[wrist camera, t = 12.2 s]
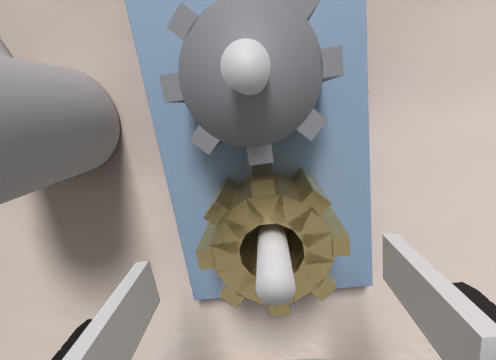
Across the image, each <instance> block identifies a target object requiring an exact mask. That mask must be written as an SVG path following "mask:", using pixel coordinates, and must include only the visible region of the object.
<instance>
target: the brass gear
mask: <svg viewBox="0 0 496 360" xmlns="http://www.w3.org/2000/svg"><path fill="white" fill-rule="evenodd" d="M331 204H332V203H331V201H330V200H329V198H328V197H327V196H326V194H325V193H324V191H323V190H322V188H321V187H320V185H319V184H318V183H317V181H316V180H315V178H314V177H312V176H311V175H310V174H308V173H307V172H306V171H304V170H303V169H302V168H300V169H299V170H298V172H297V173H296V174H295V175H294V176H293V178H291V177H288V176H286V175H283V174H281V173H278V172H273V169H272V163H265V164H258V165H253V167H252V173H251V176H249V177H248V178H247V179H245V180H244V181H242V182H241V183H240V184H237V183H235V182H234V181H233V180H231V179H230V178H229V177H227V178H226V180H225V181H224V182H223V184H222V185H221V186H220V188H219V189H218V190H217V192H216V194H215V196H214V198H213V200H212V202H211V204H210V206H209V207H208V209H207V211H206V213H205V215H204V217H203V218H204V219H206V220H207V221H208V222H209V223H208V225H207V227H206V229H205V232H204V234H203V236H202V238H201V240H200V242H199V245H198V247H197V249H196V255H197V260H198V264H199V269H200V270H203V269H214V268H215V273H216V274H217V275H218V276H219V277H220V278H221V279H222V280H223V282H222V287H221V291H220V295H219V297H220V298H221V299H223V300H225V301H226V302H228V303H229V304H231V305H232V306H234V307H235V308H236V307H237V306H238V305H239V304H240V303H241V302H242V301H243V300H244V299H245V298H247V299H249V300H252V301H255V302H257V303H260V304H263V305H266V303H264V302H263V301H261V300H260V298H259V297H258V296H257V293H256V269H257V245H258V236H255V235H254V234H253V233H252V232H251V230H253V229H254V228H256V227H257V226H259V225H266V224H275V223H277V224H280V225H282V226H285V227H287V228H290V231H289V232H288V233H287V234H286V236H287V241H288V247H289V253H290V258H291V264H292V270H293V276H294V281H295V287H296V291H295V295H294V297H293V298H292V299H291V300H290V301H289V302H288V303H286V304H283V305H279V306H273V305H269V304H268V307H269V314H270V317H271V316H284V315H291V314H290V306H289V303H291V302H295V301H297V300H299V299H300V298H302V297H304V296H305V295H307V294H309V293H312V294H313V295H315V296H316V297H318V298H319V299H320V300H322V301H323V300H324V299H325V298H326V297H327V296H328V295H330V294H331V293H332V292H333V291H334V290H335V289H336V288H337V285H336V283H335V280H334V278H333V275H332V273H331V270H330V268H331V266H332V265H333V263H334V257H341V256H350V240H349V234H348V233H347V231H346V230H345V228H344V226H343V225H342V223H341V222H340V220H339V219H338V217H337V216H336V214H335V213H334V211H333V210H332V208H331V207H330V205H331Z"/></svg>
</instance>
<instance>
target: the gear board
mask: <svg viewBox="0 0 496 360" xmlns="http://www.w3.org/2000/svg"><path fill="white" fill-rule="evenodd" d="M125 4H126V8H127V13H128V17H129V21H130V25H131V30H132V34H133V38H134V43H135V47H136V51H137V56H138V60H139V64H140V68H141V73H142V77H143V81H144V86H145V90H146V94H147V98H148V103H149V107H150V111H151V116H152V120H153V124H154V128H155V133H156V137H157V141H158V146H159V150H160V154H161V158H162V163H163V167H164V171H165V176H166V180H167V184H168V189H169V193H170V197H171V201H172V206H173V210H174V214H175V219H176V223H177V227H178V231H179V236H180V240H181V244H182V249H183V253H184V257H185V261H186V266H187V270H188V274H189V279H190V283H191V287H192V291H193V296H194V300H204V299H216V298H220V297H219V295H220V291H221V287H222V282H223V280H222V279H221V278H220V277H219V276H218V275H217V274H216V273H215V268H214V269H203V270H200V269H199V264H198V260H197V255H196V249H197V247H198V245H199V242H200V240H201V238H202V236H203V234H204V232H205V229H206V227H207V225H208V223H209V222H208V221H207V220H206V219H204V218H203V217H204V215H205V213H206V211H207V209H208V207H209V206H210V204H211V202H212V200H213V198H214V196H215V194H216V192H217V190H218V189H219V188H220V186H221V185H222V184H223V182H224V181H225V180H226V178H227V177H229V178H230V179H231V180H233V181H234V182H235V183H237V184H240V183H241V182H242V181H244V180H245V179H247V178H248V177H249V176H251V173H252V167H253V165H258V164H265V163H272V169H273V172H278V173H281V174H283V175H286V176H288V177H291V178H293V176H294V175H295V174H296V173H297V172H298V170H299V169H300V168H302V169H303V170H304V171H306V172H307V173H308V174H310V175H311V176H312V177H314V178H315V180H316V181H317V183H318V184H319V185H320V187H321V188H322V190H323V191H324V193H325V194H326V196H327V197H328V198H329V200H330V201H331V203H332V204H331V205H330V207H331V208H332V210H333V211H334V213H335V214H336V216H337V217H338V219H339V220H340V222H341V223H342V225H343V226H344V228H345V230H346V231H347V233H348V234H349V240H350V256H341V257H334V263H333V265H332V266H331V268H330V270H331V273H332V275H333V278H334V280H335V283H336V285H337V288H349V287H361V286H372V246H371V202H370V159H369V116H368V73H367V30H366V0H125ZM289 231H290V228H287V227H285V226H282V225H280V224H277V223H275V224H266V225H259V226H257V227H256V228H254V229H253V230H251V232H252V233H253V234H254V235H255V236H258V245H257V269H256V293H257V296H258V297H259V298H260V300H261V301H263V302H264V303H266V304H269V305H273V306H279V305H283V304H286V303H288V302H289V301H290V300H291V299H292V298H293V297H294V295H295V291H296V287H295V281H294V276H293V270H292V264H291V258H290V253H289V247H288V241H287V236H286V234H287V233H288V232H289ZM337 288H336V289H337Z"/></svg>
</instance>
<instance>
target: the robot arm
mask: <svg viewBox="0 0 496 360" xmlns="http://www.w3.org/2000/svg"><path fill="white" fill-rule="evenodd" d="M383 279H384V280H385V281H386V283H387V284H388V286H389V287H390V288H391V290H392V291H393V292H394V294H395V295H396V297H397V298H398V299H399V301H400V302H401V304H402V305H403V306H404V308H405V309H406V310H407V312H408V313H409V315H410V316H411V317H412V319H413V320H414V321H415V323H416V324H417V326H418V327H419V328H420V330H421V331H422V333H423V334H424V335H425V337H426V338H427V339H428V341H429V342H430V344H431V345H432V346H433V348H434V349H435V350H436V352H437V353H438V355H439V356H440V357H441V359H442V360H496V305H495V304H493V303H492V302H491V301H489V299H488V298H486V297H485V296H484V295H483V294H482V293H480V292H479V291H478V290H477V289H475V288H473V287H471V286H469V285H467V284H465V283H463V282H459V283H451V282H450V281H449V280H448V279H447V278H446V277H445V276H444V275H442V274H441V273H440V272H439V271H438V270H437V269H436V268H435V267H434V266H433V265H432V264H430V263H429V262H428V261H427V260H426V259H425V258H424V257H423V256H422V255H421V254H420V253H419V252H417V251H416V250H415V249H414V248H413V247H412V246H411V245H410V244H409V243H408V242H407V241H405V240H404V239H403V238H402V237H401V236H400V235H399V234H398V233H392V234H383ZM159 302H160V298H159V294H158V291H157V287H156V284H155V280H154V276H153V273H152V269H151V265H150V262H149V261H141V262H136V263H135V264H134V266H133V267H132V268H131V270H130V271H129V272H128V274H127V275H126V276H125V278H124V279H123V280H122V282H121V283H120V284H119V285H118V287H117V288H116V289H115V291H114V292H113V293H112V295H111V296H110V297H109V299H108V300H107V301H106V303H105V304H104V305H103V306H102V308H101V309H100V310H99V312H98V313H97V314H96V316H95V317H94V318H93V319H88V320H86V321H85V322H84V323H83V324H82V325H80V326H79V327H78V328H77V329H76V330H75V331H74V332H73V334H72V335H71V336H70V337H69V339H68V341H66V342H65V344H64V345H63V346H62V347H61V350H59V351H58V352H57V353H56V355H55V356H54V357H53V358H52V360H131V359H132V357H133V355H134V353H135V351H136V349H137V347H138V345H139V343H140V340H141V338H142V336H143V334H144V332H145V330H146V328H147V326H148V324H149V322H150V320H151V318H152V316H153V314H154V312H155V310H156V308H157V306H158V304H159Z"/></svg>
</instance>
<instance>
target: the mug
mask: <svg viewBox="0 0 496 360" xmlns="http://www.w3.org/2000/svg"><path fill="white" fill-rule="evenodd" d="M119 135H120V123H119V117H118V113H117V110H116V107H115V105H114V103H113V101H112V99H111V98H110V96H109V94H108V93H107V92H106V91H105V89H104V88H103V87H102V86H101V85H100V84H99V83H98V82H97V81H95V80H94V79H93V78H91V77H90V76H88V75H86V74H85V73H83V72H80V71H78V70H75V69H72V68H69V67H64V66H58V65H52V64H45V63H39V62H34V61H28V60H23V59H17V58H14V57H13V56H12V54H11V53H10V51H9V50H8V48H7V47H6V46H5V44H4V43H3V41H2V40H1V39H0V204H2V203H5V202H7V201H10V200H13V199H15V198H18V197H20V196H23V195H26V194H28V193H31V192H34V191H36V190H39V189H41V188H44V187H47V186H49V185H52V184H55V183H57V182H60V181H63V180H65V179H68V178H71V177H73V176H76V175H79V174H82V173H85V172H88V171H91V170H93V169H95V168H97V167H99V166H101V165H102V164H104V163H105V162H106V161H107V160H108V159H109V158H110V157H111V155H112V154H113V153H114V151H115V149H116V147H117V144H118V141H119Z"/></svg>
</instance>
